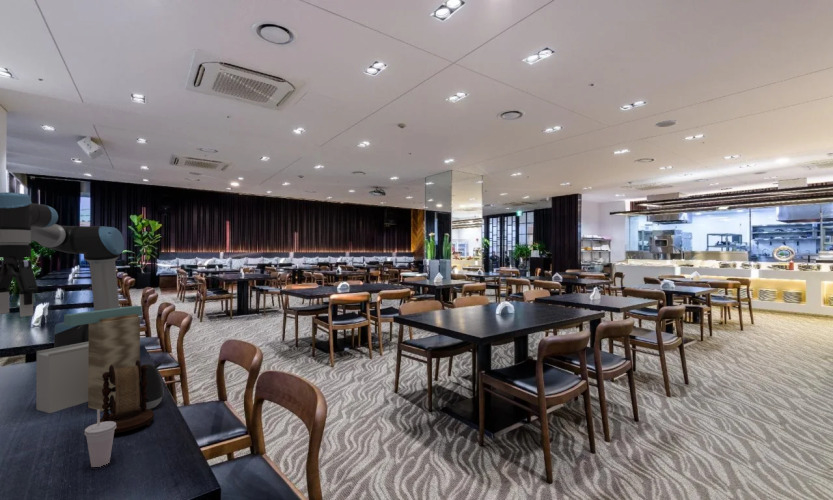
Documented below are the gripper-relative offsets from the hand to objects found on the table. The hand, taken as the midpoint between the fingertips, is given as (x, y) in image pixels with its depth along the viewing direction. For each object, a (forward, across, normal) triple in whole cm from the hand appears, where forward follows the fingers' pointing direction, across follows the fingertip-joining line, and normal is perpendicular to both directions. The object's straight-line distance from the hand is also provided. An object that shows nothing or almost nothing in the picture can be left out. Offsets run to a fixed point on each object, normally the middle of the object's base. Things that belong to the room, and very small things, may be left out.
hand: (14, 314), depth 117 cm
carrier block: (+35, -9, +19) cm, 40 cm away
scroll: (+36, +27, +15) cm, 47 cm away
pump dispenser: (+36, +19, +26) cm, 48 cm away
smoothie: (+36, +44, -1) cm, 57 cm away
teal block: (+5, +5, +22) cm, 23 cm away
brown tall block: (+35, +5, +24) cm, 43 cm away
